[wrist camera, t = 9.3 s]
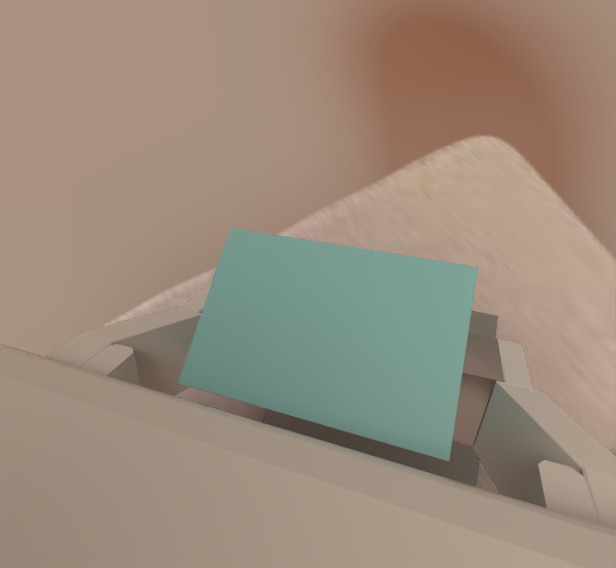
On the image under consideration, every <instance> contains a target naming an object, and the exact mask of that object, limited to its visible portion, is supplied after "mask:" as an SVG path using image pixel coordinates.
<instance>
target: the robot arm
mask: <svg viewBox="0 0 616 568" xmlns="http://www.w3.org/2000/svg"><path fill="white" fill-rule="evenodd" d="M211 284H212V283H211ZM211 284H210V285H209V286H207V287H206V288H205V289H204V290H202V291H201V292H200V293H199V294H198V295H196V296H195V297H194V298H193V299H191V300H190V301H189V302H188V303H186V304H185V305H184V306H183V307H182V308H176V307H175V308H171V309H167V310H163V311H160V312H156V313H152V314H149V315H145V316H141V317H138V318H134V319H130V320H127V321H123V322H119V323H115V324H112V325H108V326H104V327H101V328H97V329H93V330H90V331H86V332H82V333H80V334H79V335H78V336H76V337H74V338H73V339H71V340H70V341H68V342H67V343H65V344H64V345H62V346H61V347H59V348H58V349H56V350H55V351H53V352H52V353H50V354H49V355H47V356H46V357H43V356H39V355H36V354H33V353H29V352H26V351H23V350H19V349H16V348H13V347H9V346H6V345H3V344H0V568H616V456H615V455H613V454H612V453H611V452H610V451H609V450H608V449H607V448H605V447H604V446H603V445H602V444H601V443H600V442H599V441H597V440H596V439H595V438H594V437H593V436H592V435H591V434H590V433H588V432H587V431H586V430H585V429H584V428H583V427H582V426H580V425H579V424H578V423H577V422H576V421H575V420H574V419H572V418H571V417H570V416H569V415H568V414H567V413H566V412H565V411H563V410H562V409H561V408H560V407H559V406H558V405H557V404H555V403H554V402H553V401H552V400H551V399H550V398H549V397H547V396H546V395H545V394H544V393H543V392H542V391H538V390H534V388H533V384H532V380H531V376H530V373H529V369H528V365H527V361H526V358H525V354H524V350H523V346H522V344H521V343H520V342H516V341H510V340H504V339H498V338H492V337H486V336H481V335H475V334H470V333H468V338H467V344H466V351H465V358H464V365H463V371H462V378H461V385H460V392H459V398H458V405H457V412H456V419H455V425H454V432H453V439H452V440H453V441H456V442H460V443H463V444H466V445H470V446H473V449H474V451H475V452H476V454H477V456H478V457H479V459H480V461H481V462H482V464H483V465H484V467H485V469H486V470H487V472H488V473H489V475H490V477H491V478H492V480H493V482H494V483H495V485H496V486H497V488H498V490H499V491H500V493H501V494H498V493H494V492H491V491H488V490H485V489H481V488H478V487H475V486H471V485H468V484H465V483H461V482H458V481H455V480H451V479H448V478H445V477H441V476H438V475H435V474H431V473H428V472H425V471H421V470H418V469H415V468H412V467H408V466H405V465H402V464H398V463H395V462H392V461H388V460H385V459H382V458H378V457H375V456H372V455H368V454H365V453H362V452H358V451H355V450H352V449H349V448H345V447H342V446H339V445H335V444H332V443H329V442H325V441H322V440H319V439H315V438H312V437H308V436H305V435H302V434H298V433H295V432H292V431H288V430H285V429H282V428H278V427H275V426H272V425H268V424H265V423H262V422H258V421H255V420H252V419H248V418H245V417H242V416H238V415H235V414H232V413H229V412H225V411H222V410H219V409H215V408H212V407H209V406H205V405H202V404H199V403H195V402H192V401H189V400H185V399H182V398H179V397H175V396H174V395H176V394H178V393H180V392H181V391H183V390H185V389H187V388H189V387H190V386H187V385H183V384H180V383H178V381H179V378H180V375H181V372H182V369H183V366H184V363H185V360H186V358H187V355H188V352H189V349H190V346H191V343H192V340H193V337H194V334H195V331H196V328H197V325H198V322H199V319H200V316H201V313H202V310H203V307H204V304H205V301H206V298H207V295H208V292H209V289H210V287H211Z"/></svg>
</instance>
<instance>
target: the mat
mask: <svg viewBox="0 0 616 568" xmlns="http://www.w3.org/2000/svg"><path fill="white" fill-rule="evenodd" d="M497 320H498V316H495V315H489V314H484V313H479V312H474V311H471V317H470V324H469V331H468V333H470V334H475V335H481V336H486V337H492V338H495V336H496V328H497ZM263 423H265V424H268V425H272V426H275V427H278V428H282V429H285V430H288V431H292V432H295V433H298V434H302V435H305V436H308V437H312V438H315V439H319V440H322V441H325V442H329V443H332V444H335V445H339V446H342V447H345V448H349V449H352V450H355V451H358V452H362V453H365V454H368V455H372V456H375V457H378V458H382V459H385V460H388V461H392V462H395V463H398V464H402V465H405V466H408V467H412V468H415V469H418V470H421V471H425V472H428V473H431V474H435V475H438V476H441V477H445V478H448V479H451V480H455V481H458V482H461V483H465V484H468V485H471V486H475V487H476V480H477V473H478V465H479V457H478V456H477V454H476V452H475V451H474V449H473V446H470V445H466V444H463V443H460V442H456V441H453V440H452V446H451V452H450V459H449V461H446V460H443V459H439V458H436V457H432V456H429V455H425V454H422V453H418V452H415V451H411V450H408V449H405V448H401V447H398V446H394V445H391V444H387V443H384V442H380V441H377V440H373V439H370V438H367V437H363V436H360V435H356V434H353V433H349V432H346V431H342V430H339V429H335V428H332V427H328V426H325V425H322V424H318V423H315V422H311V421H308V420H304V419H301V418H297V417H294V416H290V415H287V414H284V413H280V412H277V411H273V410H270V409H267V410H266V414H265V417H264V421H263Z"/></svg>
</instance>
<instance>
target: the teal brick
mask: <svg viewBox="0 0 616 568" xmlns="http://www.w3.org/2000/svg"><path fill="white" fill-rule="evenodd" d="M477 270H478V267H475V266H469V265H462V264H456V263H450V262H443V261H437V260H431V259H424V258H418V257H411V256H405V255H399V254H392V253H386V252H380V251H373V250H367V249H361V248H354V247H348V246H342V245H335V244H329V243H323V242H316V241H310V240H304V239H297V238H291V237H285V236H278V235H271V234H266V233H259V232H252V231H246V230H240V229H234V228H230V230H229V233H228V236H227V239H226V242H225V245H224V248H223V251H222V254H221V257H220V260H219V263H218V266H217V269H216V272H215V275H214V278H213V281H212V284H211V287H210V289H209V292H208V295H207V298H206V301H205V304H204V307H203V310H202V313H201V316H200V319H199V322H198V325H197V328H196V331H195V334H194V337H193V340H192V343H191V346H190V349H189V352H188V355H187V358H186V360H185V363H184V366H183V369H182V372H181V375H180V378H179V381H178V383H180V384H183V385H187V386H190V387H194V388H197V389H201V390H204V391H208V392H211V393H214V394H218V395H221V396H225V397H228V398H232V399H235V400H239V401H242V402H246V403H249V404H252V405H256V406H259V407H263V408H266V409H270V410H273V411H277V412H280V413H284V414H287V415H290V416H294V417H297V418H301V419H304V420H308V421H311V422H315V423H318V424H322V425H325V426H328V427H332V428H335V429H339V430H342V431H346V432H349V433H353V434H356V435H360V436H363V437H367V438H370V439H373V440H377V441H380V442H384V443H387V444H391V445H394V446H398V447H401V448H405V449H408V450H411V451H415V452H418V453H422V454H425V455H429V456H432V457H436V458H439V459H443V460H446V461H449V459H450V452H451V446H452V439H453V432H454V425H455V419H456V412H457V405H458V398H459V392H460V385H461V378H462V371H463V365H464V358H465V351H466V344H467V338H468V331H469V324H470V317H471V310H472V304H473V297H474V290H475V283H476V277H477Z"/></svg>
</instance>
